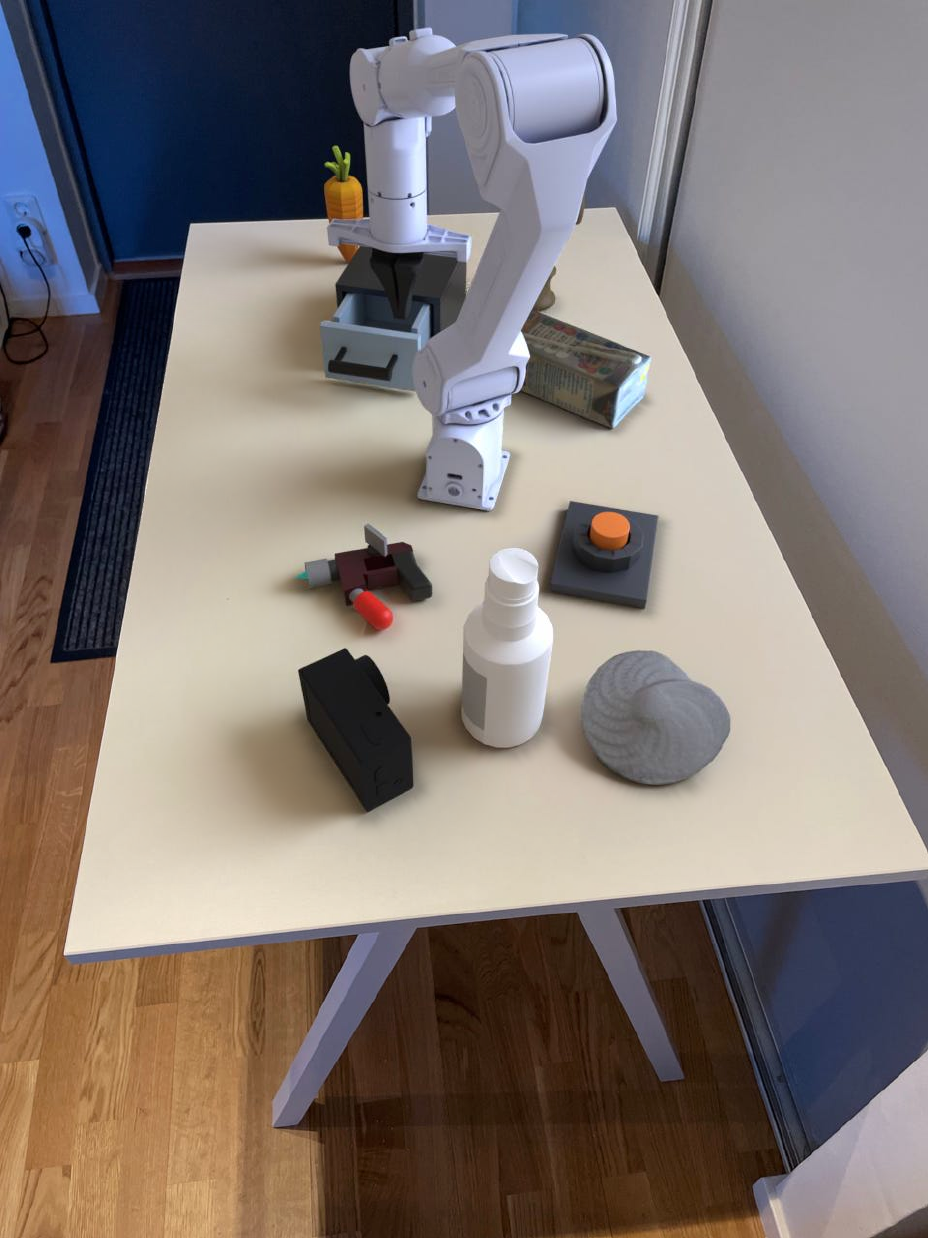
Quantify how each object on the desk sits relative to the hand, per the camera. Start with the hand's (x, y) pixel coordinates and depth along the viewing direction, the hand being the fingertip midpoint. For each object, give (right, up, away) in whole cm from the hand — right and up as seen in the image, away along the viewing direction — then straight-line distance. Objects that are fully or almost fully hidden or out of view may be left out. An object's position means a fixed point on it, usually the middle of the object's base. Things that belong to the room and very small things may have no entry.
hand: (402, 314), depth 99 cm
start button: (+21, -25, -11) cm, 34 cm away
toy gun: (-2, -31, -13) cm, 34 cm away
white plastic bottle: (+10, -41, -22) cm, 48 cm away
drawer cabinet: (-1, +4, +17) cm, 18 cm away
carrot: (-9, +16, +28) cm, 34 cm away
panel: (+21, -27, -9) cm, 35 cm away
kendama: (+16, +9, +22) cm, 29 cm away
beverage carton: (+18, -6, +9) cm, 21 cm away
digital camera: (-1, -44, -24) cm, 50 cm away
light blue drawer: (-3, -3, +10) cm, 11 cm away
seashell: (+22, -43, -23) cm, 53 cm away
